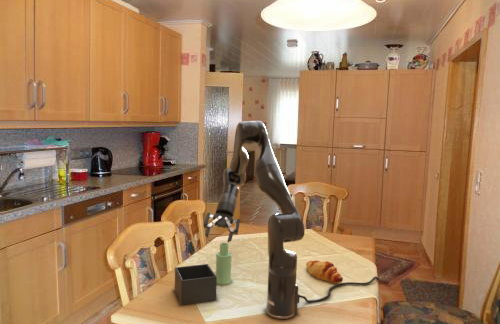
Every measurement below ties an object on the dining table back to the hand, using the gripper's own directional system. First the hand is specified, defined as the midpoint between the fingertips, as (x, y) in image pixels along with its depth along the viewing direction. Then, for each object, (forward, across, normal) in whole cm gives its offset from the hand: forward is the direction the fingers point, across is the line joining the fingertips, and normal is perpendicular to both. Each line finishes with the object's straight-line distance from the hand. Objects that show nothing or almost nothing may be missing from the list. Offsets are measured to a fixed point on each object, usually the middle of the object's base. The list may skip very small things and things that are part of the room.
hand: (217, 239), depth 153 cm
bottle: (+12, +6, +9) cm, 16 cm away
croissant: (0, +45, +12) cm, 46 cm away
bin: (+23, -3, +2) cm, 23 cm away
